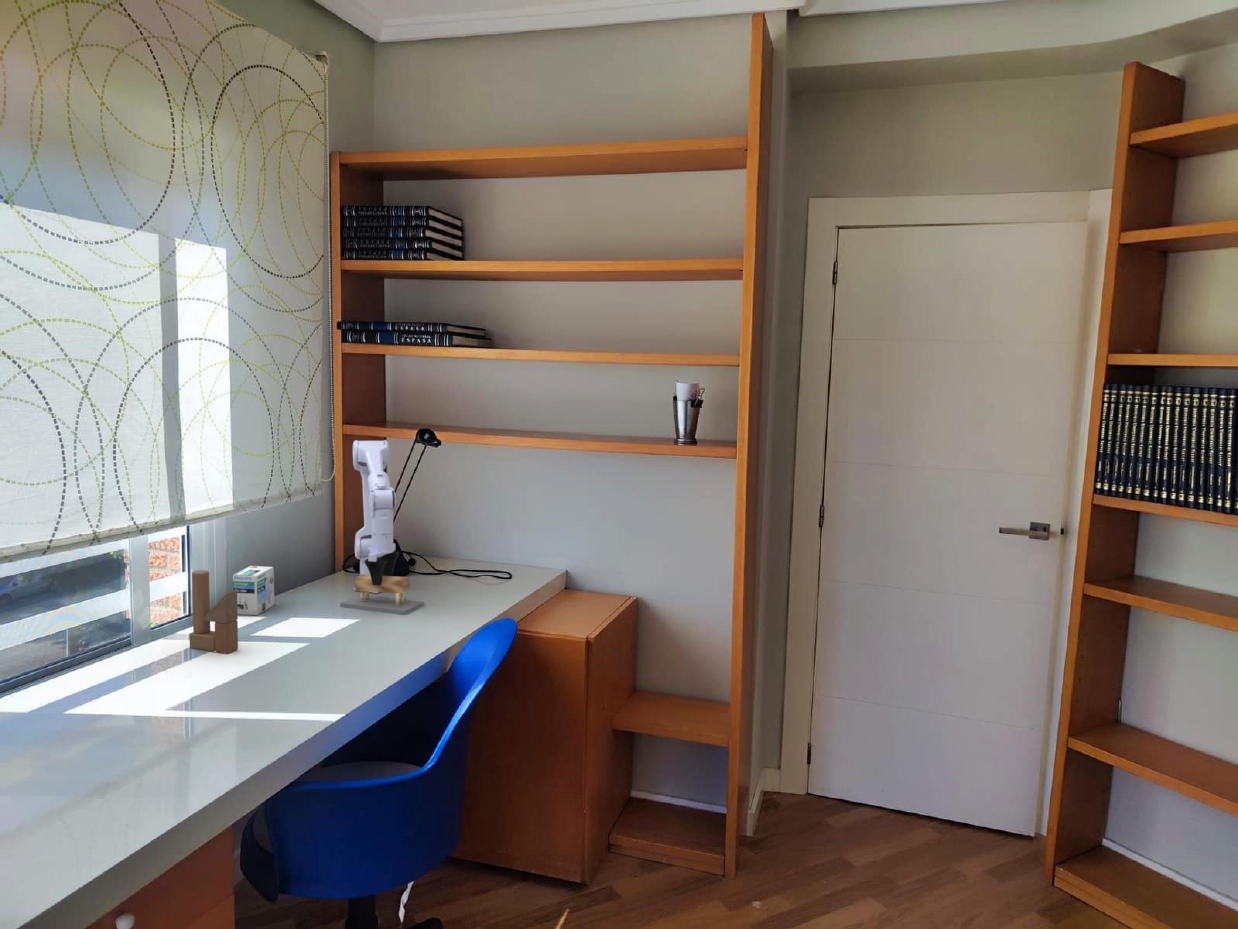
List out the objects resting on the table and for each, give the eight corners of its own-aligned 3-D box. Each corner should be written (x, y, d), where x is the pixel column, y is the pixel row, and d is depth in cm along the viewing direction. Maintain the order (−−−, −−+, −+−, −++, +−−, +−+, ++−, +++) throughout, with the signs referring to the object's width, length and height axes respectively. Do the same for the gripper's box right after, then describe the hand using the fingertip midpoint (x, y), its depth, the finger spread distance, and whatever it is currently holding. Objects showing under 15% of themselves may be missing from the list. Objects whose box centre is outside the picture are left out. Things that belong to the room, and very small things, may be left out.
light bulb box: (258, 616, 222) (257, 575, 221) (232, 615, 222) (231, 574, 221) (275, 604, 233) (274, 566, 231) (251, 603, 233) (250, 565, 232)
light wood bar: (409, 589, 235) (409, 577, 235) (404, 593, 231) (404, 580, 231) (361, 586, 237) (361, 574, 236) (355, 590, 233) (355, 577, 232)
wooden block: (227, 654, 193) (225, 577, 191) (189, 648, 196) (187, 572, 194) (238, 649, 196) (237, 573, 194) (201, 643, 199) (199, 568, 197)
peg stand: (361, 597, 242) (361, 582, 242) (423, 605, 236) (423, 589, 236) (340, 606, 233) (340, 590, 232) (404, 614, 227) (404, 598, 226)
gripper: (378, 527, 240) (378, 574, 241) (357, 537, 225) (357, 587, 227) (402, 528, 239) (402, 575, 241) (383, 538, 225) (383, 588, 226)
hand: (382, 581), depth 234 cm, fingers open, 7 cm apart
